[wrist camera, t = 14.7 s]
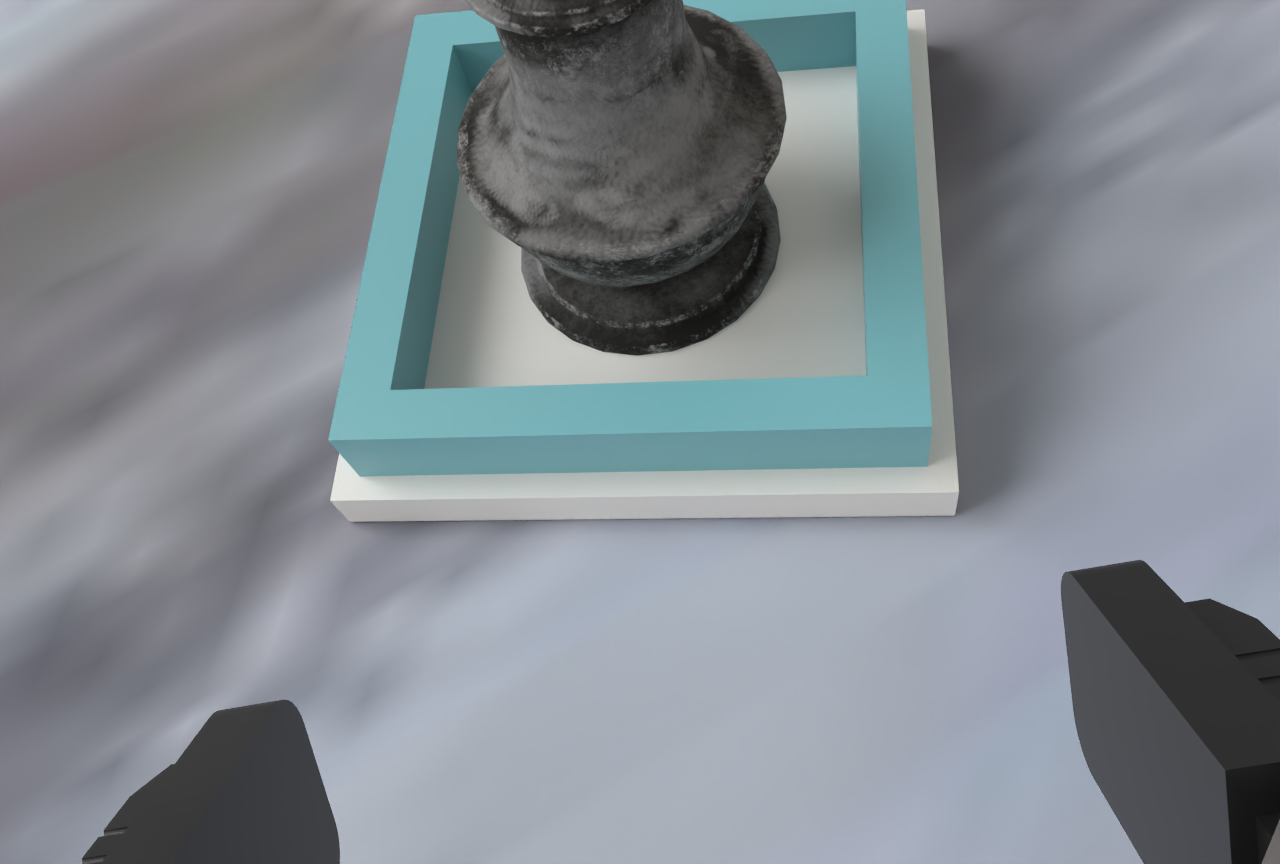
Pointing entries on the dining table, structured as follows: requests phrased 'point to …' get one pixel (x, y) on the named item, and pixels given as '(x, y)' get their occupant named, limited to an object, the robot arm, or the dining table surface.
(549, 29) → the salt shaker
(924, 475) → the socket board
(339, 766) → the dining table surface
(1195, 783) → the robot arm
